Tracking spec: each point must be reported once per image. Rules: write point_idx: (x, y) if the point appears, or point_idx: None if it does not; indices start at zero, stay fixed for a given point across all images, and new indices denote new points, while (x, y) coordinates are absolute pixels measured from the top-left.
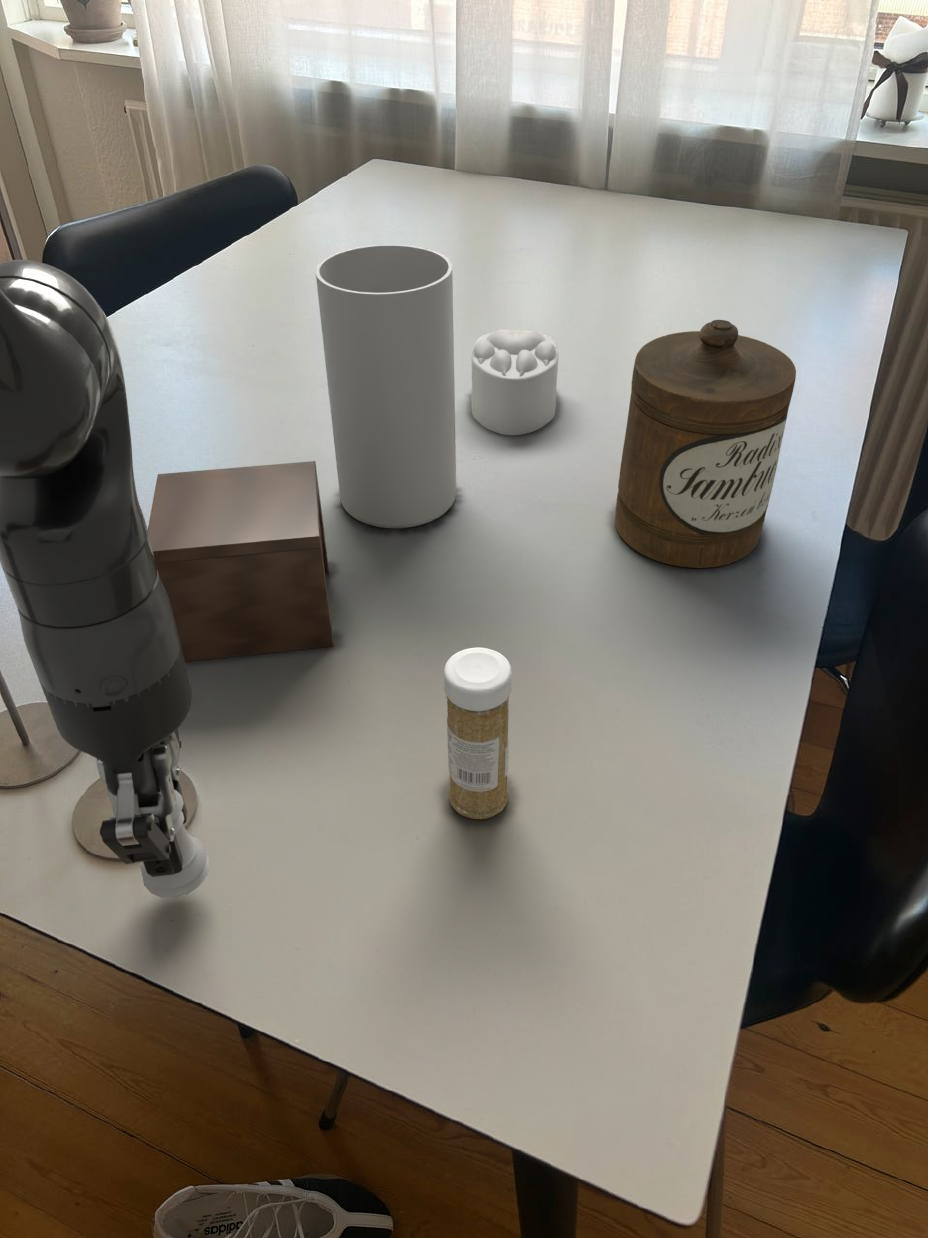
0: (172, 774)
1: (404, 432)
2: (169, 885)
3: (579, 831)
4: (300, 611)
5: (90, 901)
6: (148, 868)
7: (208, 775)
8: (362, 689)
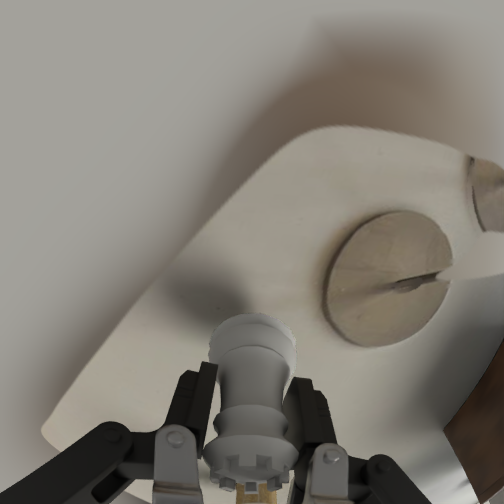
0: (289, 496)
1: (501, 493)
2: (209, 355)
3: (212, 498)
4: (470, 442)
5: (282, 220)
6: (176, 388)
7: (394, 357)
8: (394, 448)
